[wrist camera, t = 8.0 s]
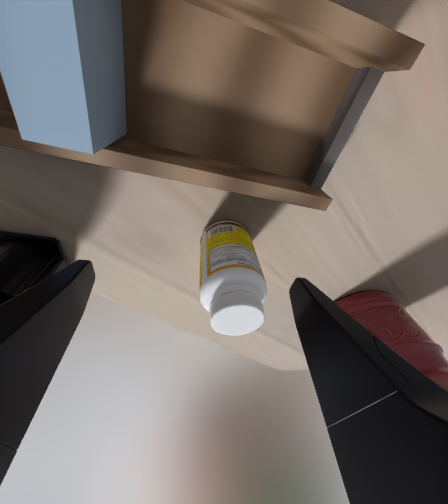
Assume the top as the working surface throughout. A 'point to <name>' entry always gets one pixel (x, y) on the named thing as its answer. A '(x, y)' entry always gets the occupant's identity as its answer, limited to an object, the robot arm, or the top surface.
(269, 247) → the top surface
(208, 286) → the supplement bottle
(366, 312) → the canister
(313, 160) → the wooden tray
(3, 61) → the block
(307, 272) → the top surface
